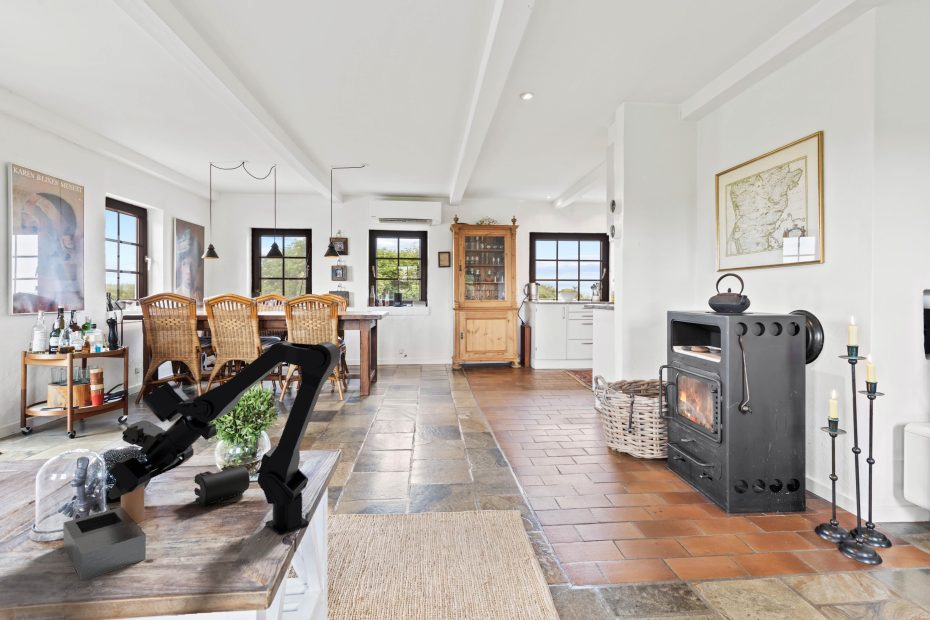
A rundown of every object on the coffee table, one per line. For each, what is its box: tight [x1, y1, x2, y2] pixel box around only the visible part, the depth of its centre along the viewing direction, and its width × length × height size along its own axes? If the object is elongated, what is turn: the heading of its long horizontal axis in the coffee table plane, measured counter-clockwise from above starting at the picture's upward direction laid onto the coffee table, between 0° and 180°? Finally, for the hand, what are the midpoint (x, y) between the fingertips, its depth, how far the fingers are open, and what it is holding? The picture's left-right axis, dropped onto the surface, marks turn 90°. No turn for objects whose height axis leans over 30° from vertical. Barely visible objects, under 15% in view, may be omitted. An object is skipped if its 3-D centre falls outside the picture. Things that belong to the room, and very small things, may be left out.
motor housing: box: [62, 506, 147, 582], centre depth 86 cm, size 16×9×4 cm, turn 49°
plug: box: [120, 459, 146, 525], centre depth 98 cm, size 4×4×12 cm
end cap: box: [193, 464, 251, 507], centre depth 109 cm, size 10×7×7 cm
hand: (127, 488), depth 98 cm, fingers open, 9 cm apart
